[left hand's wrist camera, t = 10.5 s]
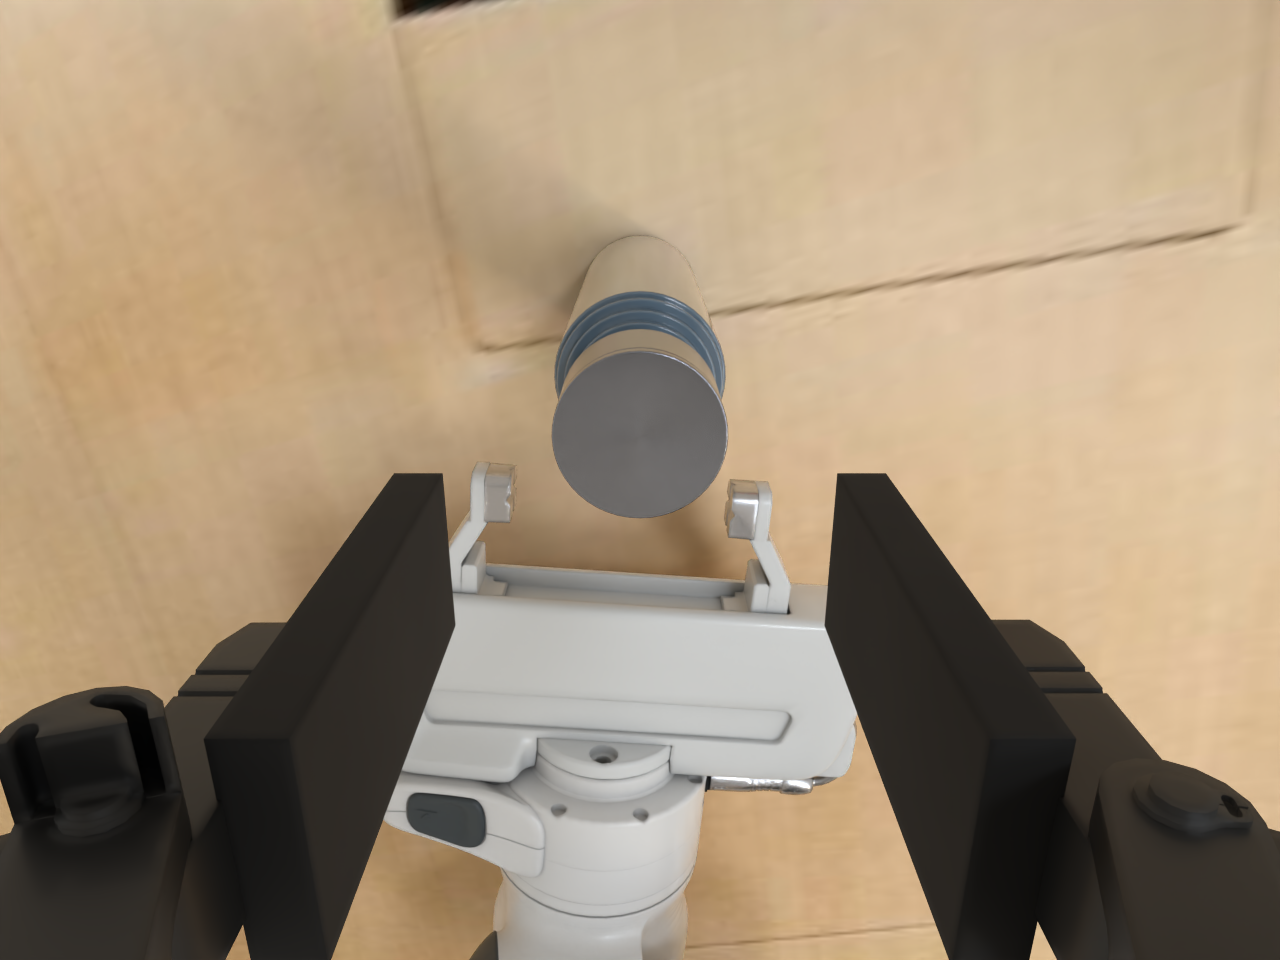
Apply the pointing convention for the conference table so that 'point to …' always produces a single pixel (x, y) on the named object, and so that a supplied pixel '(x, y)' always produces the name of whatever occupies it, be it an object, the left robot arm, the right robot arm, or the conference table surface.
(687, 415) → the cap
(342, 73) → the conference table surface
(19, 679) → the conference table surface
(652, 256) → the bottle
